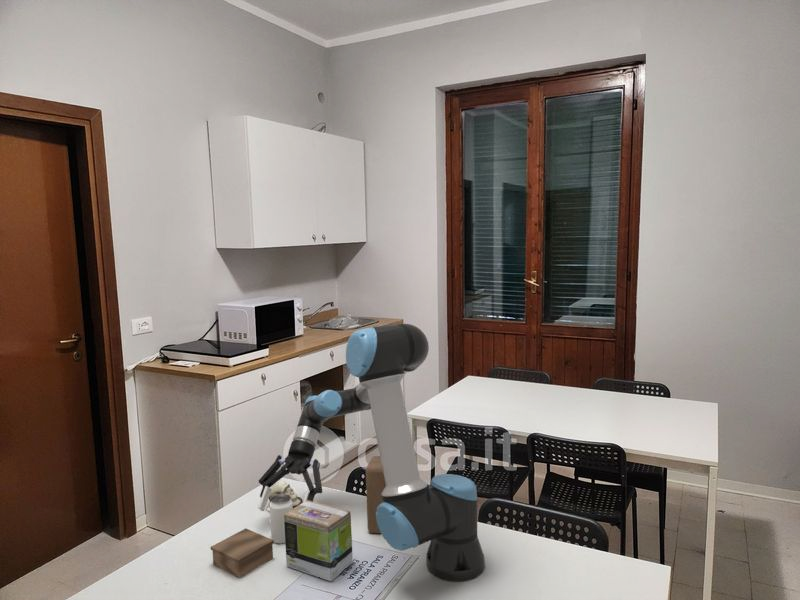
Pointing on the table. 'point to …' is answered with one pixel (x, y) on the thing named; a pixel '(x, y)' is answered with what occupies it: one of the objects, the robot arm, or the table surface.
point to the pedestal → (242, 552)
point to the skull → (285, 492)
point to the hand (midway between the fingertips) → (281, 512)
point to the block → (374, 491)
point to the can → (279, 516)
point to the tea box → (318, 539)
